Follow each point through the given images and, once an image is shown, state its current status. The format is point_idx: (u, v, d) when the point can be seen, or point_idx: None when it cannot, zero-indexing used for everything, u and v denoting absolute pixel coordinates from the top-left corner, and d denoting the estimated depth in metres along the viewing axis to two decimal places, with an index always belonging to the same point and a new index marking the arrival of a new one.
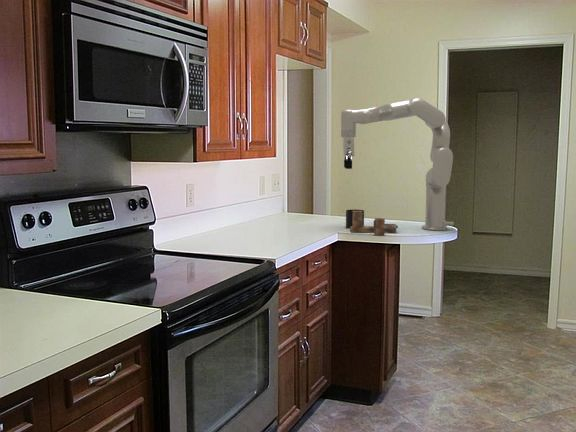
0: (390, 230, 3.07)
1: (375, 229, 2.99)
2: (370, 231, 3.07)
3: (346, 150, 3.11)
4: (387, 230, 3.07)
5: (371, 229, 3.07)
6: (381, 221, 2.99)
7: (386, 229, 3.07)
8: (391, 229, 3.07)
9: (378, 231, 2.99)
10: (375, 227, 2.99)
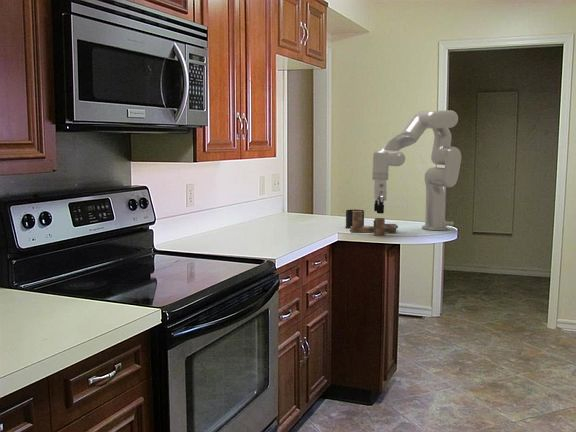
0: (390, 230, 3.07)
1: (375, 229, 2.99)
2: (370, 231, 3.07)
3: (378, 194, 2.94)
4: (387, 230, 3.07)
5: (371, 229, 3.07)
6: (381, 221, 2.99)
7: (386, 229, 3.07)
8: (391, 229, 3.07)
9: (378, 231, 2.99)
10: (375, 227, 2.99)
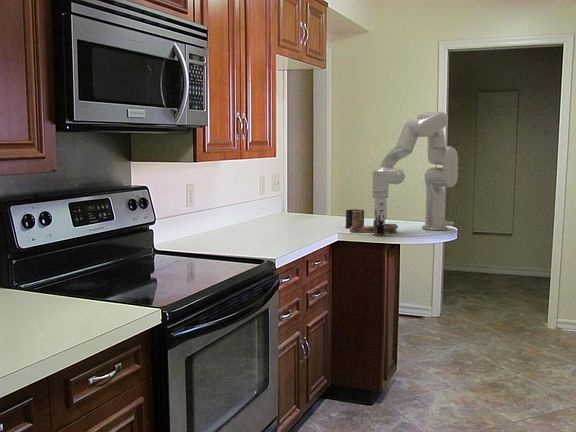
0: (390, 230, 3.07)
1: (375, 229, 2.99)
2: (370, 231, 3.07)
3: (378, 215, 2.96)
4: (387, 230, 3.07)
5: (371, 229, 3.07)
6: None
7: (386, 229, 3.07)
8: (391, 229, 3.07)
9: None
10: (375, 227, 2.99)
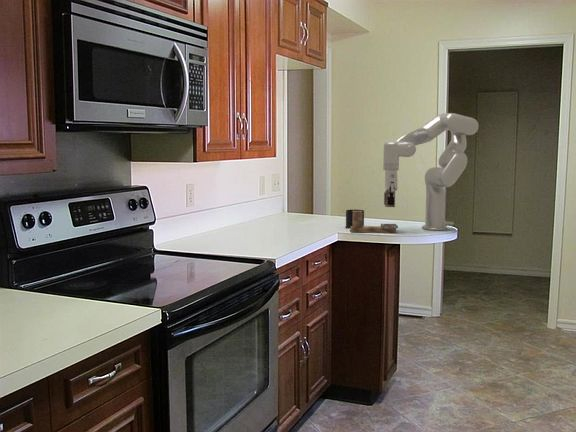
0: (390, 230, 3.07)
1: (386, 201, 3.07)
2: (370, 231, 3.07)
3: (389, 187, 3.03)
4: (387, 230, 3.07)
5: (371, 229, 3.07)
6: None
7: (386, 229, 3.07)
8: (391, 229, 3.07)
9: None
10: (386, 199, 3.06)
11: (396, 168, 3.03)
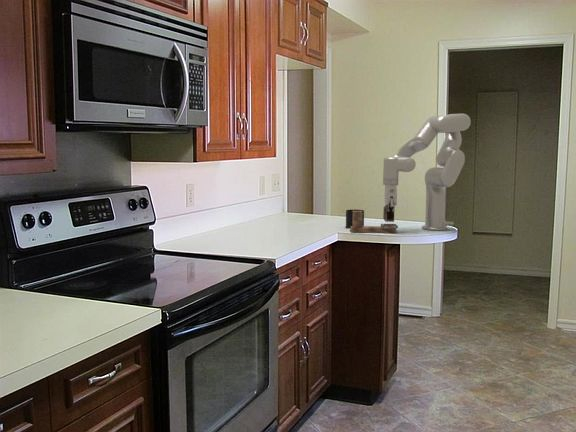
0: (390, 230, 3.07)
1: (385, 215, 3.07)
2: (370, 231, 3.07)
3: (388, 202, 3.04)
4: (387, 230, 3.07)
5: (371, 229, 3.07)
6: None
7: (386, 229, 3.07)
8: (391, 229, 3.07)
9: None
10: (385, 213, 3.07)
11: (396, 183, 3.04)
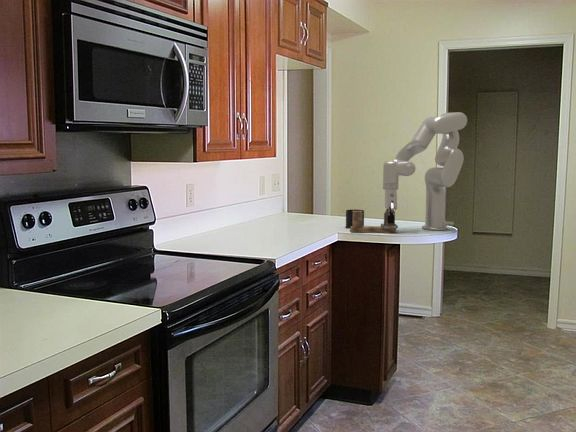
0: (390, 230, 3.07)
1: (386, 221, 3.08)
2: (370, 231, 3.07)
3: (389, 205, 3.04)
4: (387, 230, 3.07)
5: (371, 229, 3.07)
6: None
7: (386, 229, 3.07)
8: (391, 229, 3.07)
9: None
10: (386, 219, 3.08)
11: (396, 187, 3.05)
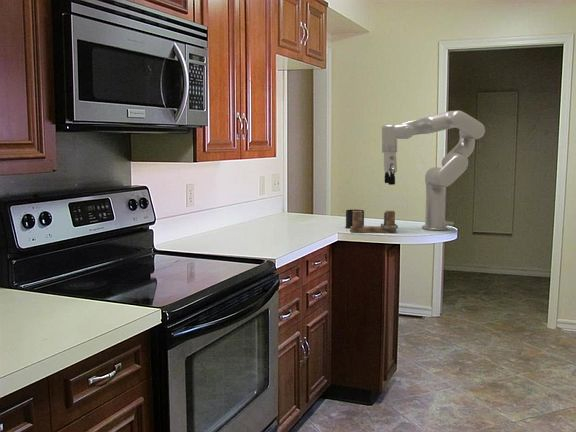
0: (390, 230, 3.07)
1: (386, 221, 3.08)
2: (370, 231, 3.07)
3: (389, 166, 3.07)
4: (387, 230, 3.07)
5: (371, 229, 3.07)
6: (391, 214, 3.07)
7: (386, 229, 3.07)
8: (391, 229, 3.07)
9: (389, 223, 3.08)
10: (386, 219, 3.08)
11: (395, 150, 3.08)
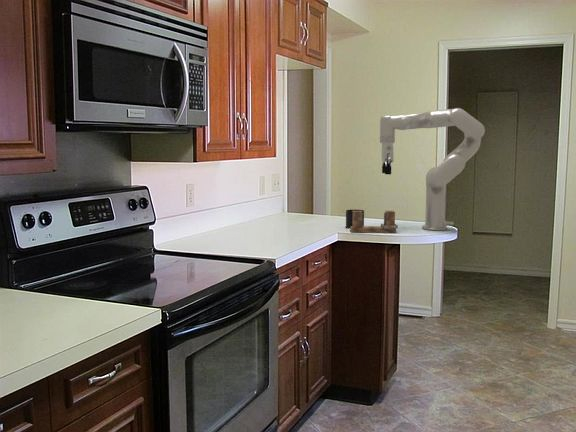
0: (390, 230, 3.07)
1: (386, 221, 3.08)
2: (370, 231, 3.07)
3: (385, 156, 3.13)
4: (387, 230, 3.07)
5: (371, 229, 3.07)
6: (391, 214, 3.07)
7: (386, 229, 3.07)
8: (391, 229, 3.07)
9: (389, 223, 3.08)
10: (386, 219, 3.08)
11: (392, 140, 3.14)
